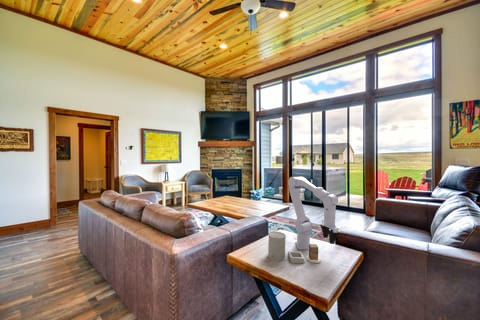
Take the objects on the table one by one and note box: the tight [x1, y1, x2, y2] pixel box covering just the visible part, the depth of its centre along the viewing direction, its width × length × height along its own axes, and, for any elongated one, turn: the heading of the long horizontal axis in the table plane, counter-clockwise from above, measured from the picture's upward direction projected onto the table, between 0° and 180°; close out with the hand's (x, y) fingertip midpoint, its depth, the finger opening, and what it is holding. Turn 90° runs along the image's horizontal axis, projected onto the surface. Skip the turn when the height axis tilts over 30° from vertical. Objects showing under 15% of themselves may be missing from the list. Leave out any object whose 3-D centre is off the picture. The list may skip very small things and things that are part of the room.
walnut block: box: [308, 243, 319, 260], centre depth 116 cm, size 4×4×7 cm
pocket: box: [287, 251, 305, 264], centre depth 115 cm, size 7×7×2 cm
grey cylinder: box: [267, 231, 287, 262], centre depth 118 cm, size 10×10×12 cm
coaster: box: [305, 254, 323, 264], centre depth 116 cm, size 8×8×1 cm
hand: (328, 240), depth 116 cm, fingers open, 7 cm apart
